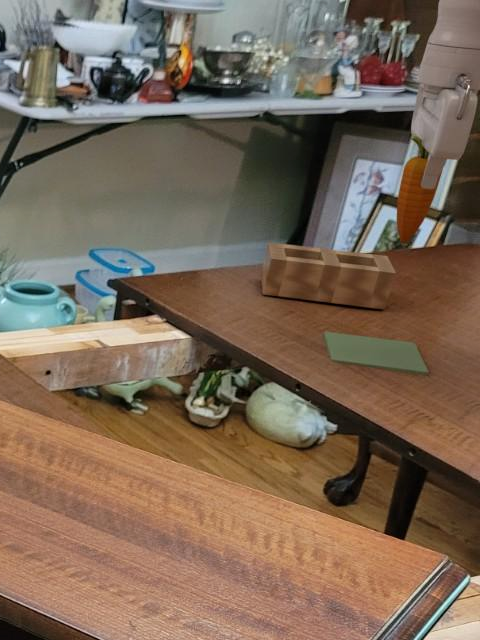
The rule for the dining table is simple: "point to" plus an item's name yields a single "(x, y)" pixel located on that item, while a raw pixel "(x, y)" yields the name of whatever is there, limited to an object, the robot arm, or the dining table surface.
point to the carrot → (413, 195)
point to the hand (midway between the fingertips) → (422, 183)
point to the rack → (327, 275)
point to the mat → (375, 353)
